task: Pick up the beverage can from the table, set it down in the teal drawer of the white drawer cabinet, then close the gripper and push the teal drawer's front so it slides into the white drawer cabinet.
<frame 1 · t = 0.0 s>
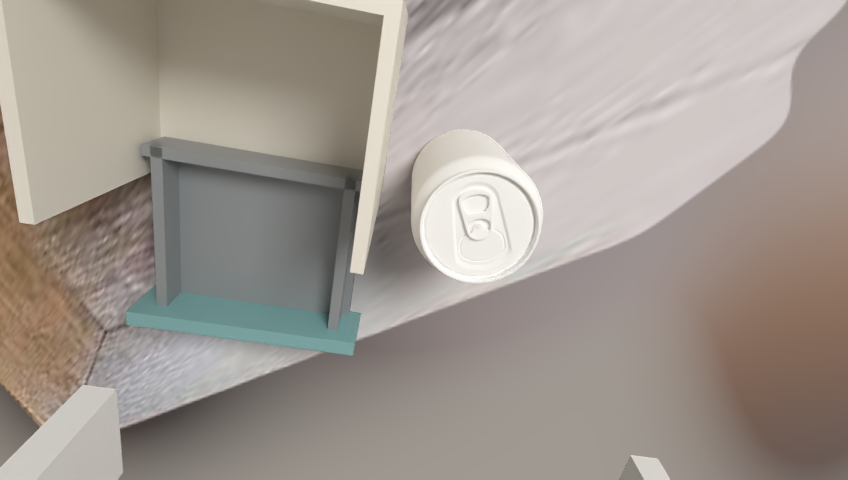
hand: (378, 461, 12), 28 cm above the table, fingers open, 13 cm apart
teal drawer: (255, 248, 36), point 4 cm above the table, slide at 10.0 cm
beverage can: (460, 177, 38), on the table
white drawer cabinet: (276, 93, 35), on the table
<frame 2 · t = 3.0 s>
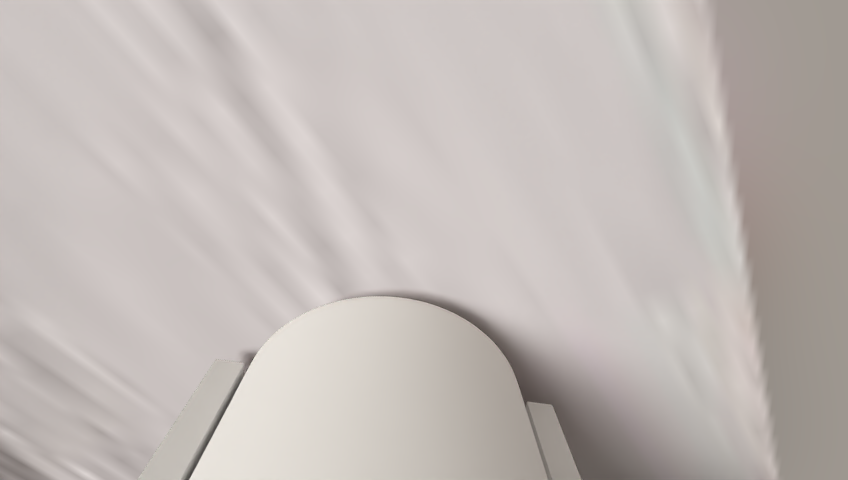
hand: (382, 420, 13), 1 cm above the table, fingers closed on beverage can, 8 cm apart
beverage can: (384, 396, 14), on the table, touching gripper
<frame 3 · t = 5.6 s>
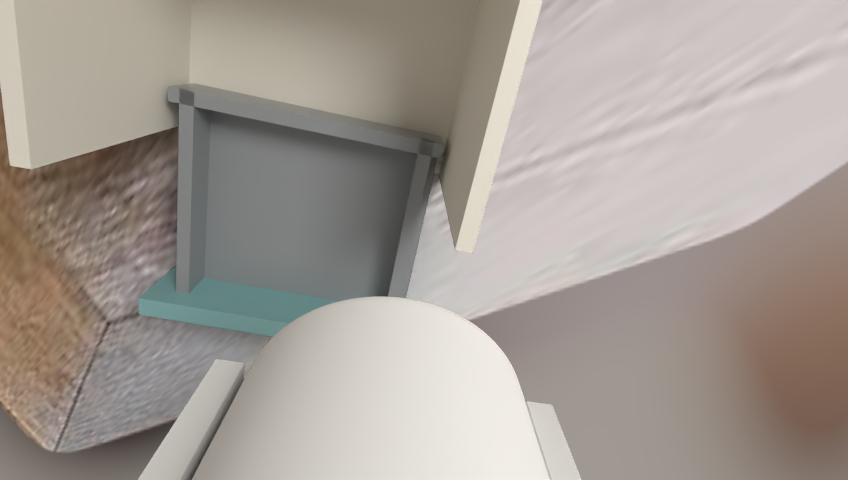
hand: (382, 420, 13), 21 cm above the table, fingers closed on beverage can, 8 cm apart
teal drawer: (300, 225, 29), point 4 cm above the table, slide at 10.0 cm
beverage can: (385, 396, 14), point 20 cm above the table, touching gripper
white drawer cabinet: (334, 36, 29), on the table
when the fingers open (5 cm above the table, at t = 8.3 s): beverage can drops 2 cm, resting on teal drawer.
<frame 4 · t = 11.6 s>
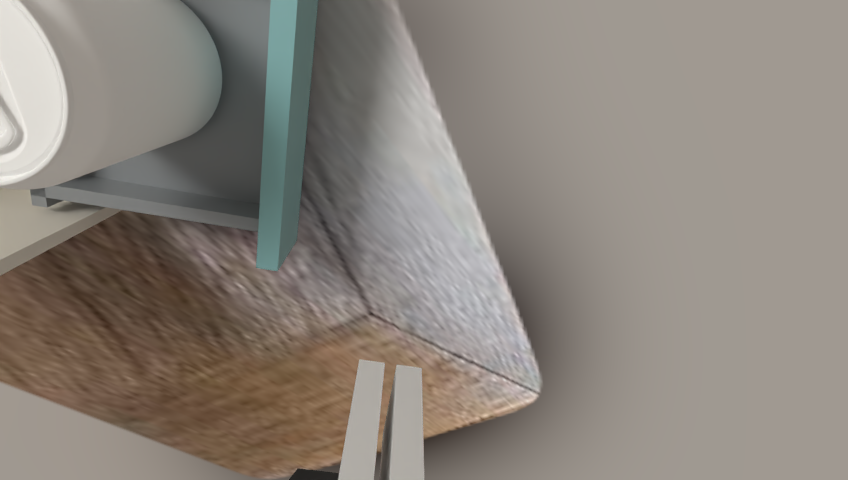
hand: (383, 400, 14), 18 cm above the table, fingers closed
teal drawer: (166, 84, 24), point 4 cm above the table, slide at 10.1 cm, touching beverage can
beverage can: (154, 66, 25), point 2 cm above the table, touching teal drawer
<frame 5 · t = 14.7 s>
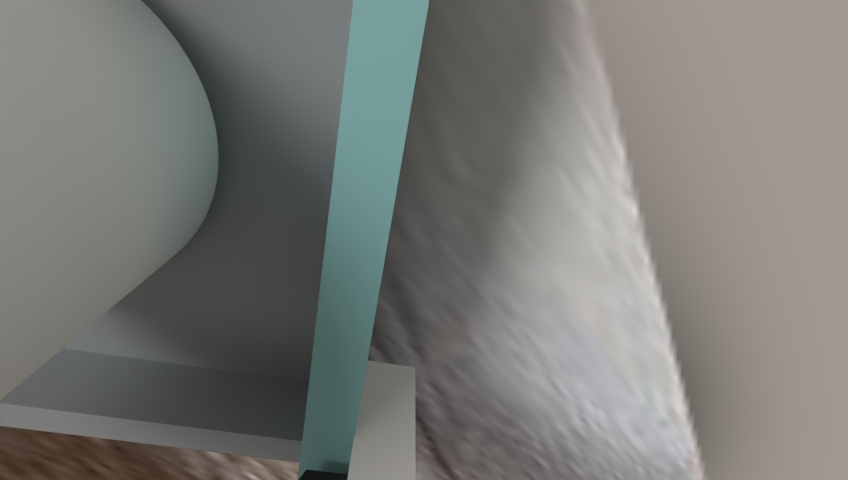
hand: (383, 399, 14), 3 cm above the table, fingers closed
teal drawer: (90, 174, 11), point 4 cm above the table, slide at 9.9 cm, touching beverage can, gripper
beverage can: (73, 126, 12), point 2 cm above the table, touching teal drawer
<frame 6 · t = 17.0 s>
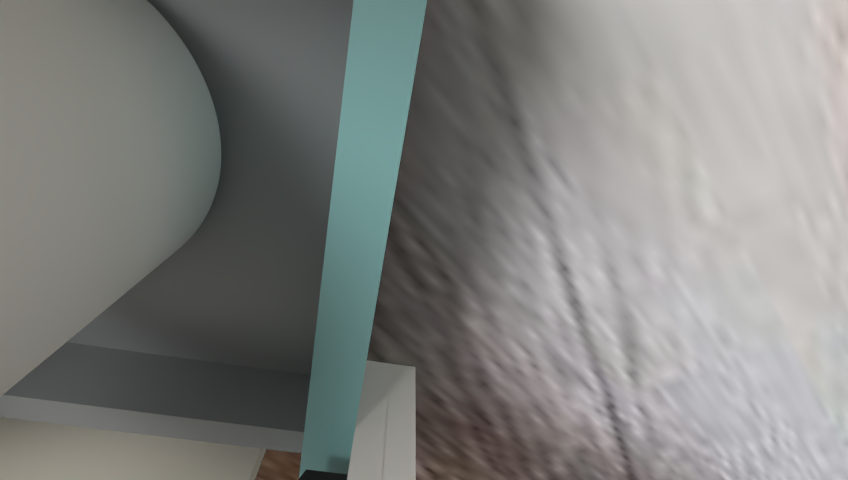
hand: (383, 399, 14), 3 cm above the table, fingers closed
teal drawer: (96, 169, 11), point 4 cm above the table, slide at 1.3 cm, touching beverage can, gripper
beverage can: (78, 122, 12), point 2 cm above the table, touching teal drawer
white drawer cabinet: (81, 125, 14), on the table
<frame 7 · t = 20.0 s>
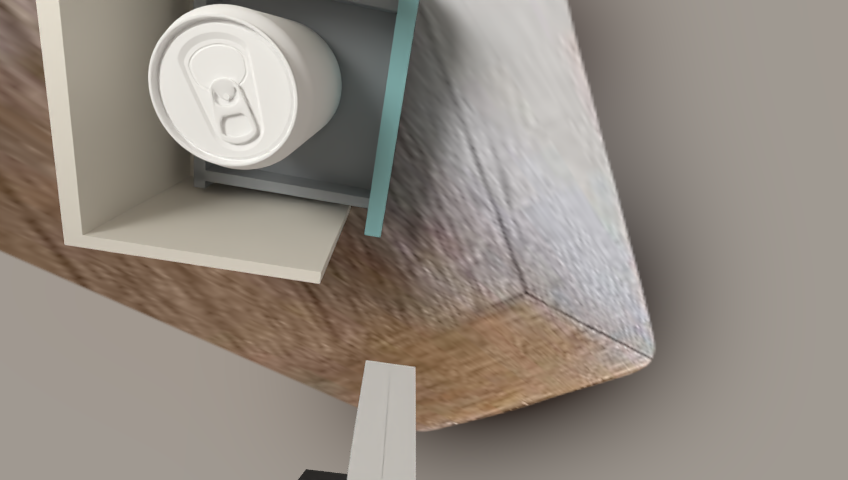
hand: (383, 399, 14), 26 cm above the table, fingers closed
teal drawer: (301, 94, 32), point 4 cm above the table, slide at 1.4 cm, touching beverage can
beverage can: (288, 80, 33), point 2 cm above the table, touching teal drawer
white drawer cabinet: (275, 83, 35), on the table
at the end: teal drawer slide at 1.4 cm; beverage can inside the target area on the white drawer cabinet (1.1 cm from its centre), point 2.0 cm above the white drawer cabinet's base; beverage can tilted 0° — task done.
